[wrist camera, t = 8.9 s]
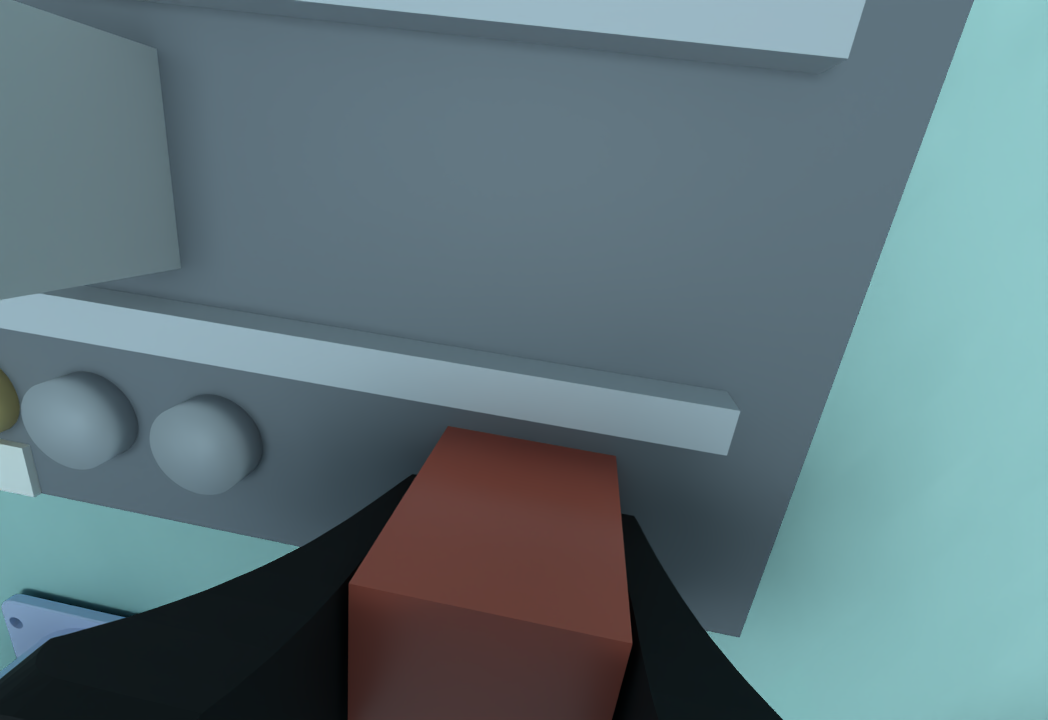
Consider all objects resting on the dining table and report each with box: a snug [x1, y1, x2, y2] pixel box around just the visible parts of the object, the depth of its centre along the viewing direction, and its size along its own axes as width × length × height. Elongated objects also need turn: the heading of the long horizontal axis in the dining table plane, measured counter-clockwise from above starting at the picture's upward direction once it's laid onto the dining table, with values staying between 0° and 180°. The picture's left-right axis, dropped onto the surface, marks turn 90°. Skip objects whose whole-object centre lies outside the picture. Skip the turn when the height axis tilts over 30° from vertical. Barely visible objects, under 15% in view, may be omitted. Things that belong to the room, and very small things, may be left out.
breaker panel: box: [0, 0, 974, 637], centre depth 11 cm, size 14×24×2 cm, turn 83°
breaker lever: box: [0, 0, 181, 300], centre depth 9 cm, size 4×3×4 cm
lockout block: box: [348, 426, 633, 720], centre depth 10 cm, size 4×4×5 cm
